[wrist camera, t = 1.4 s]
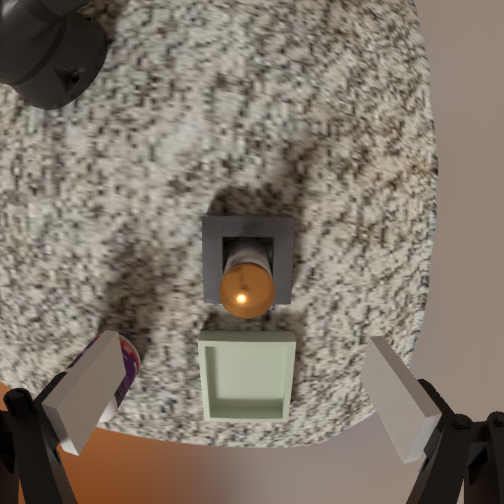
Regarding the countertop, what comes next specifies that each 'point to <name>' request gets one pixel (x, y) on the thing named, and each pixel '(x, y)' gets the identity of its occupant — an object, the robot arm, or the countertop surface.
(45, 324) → the countertop surface
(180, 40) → the countertop surface
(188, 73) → the countertop surface
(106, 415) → the pill bottle
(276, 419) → the tray
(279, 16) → the countertop surface
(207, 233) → the socket block
